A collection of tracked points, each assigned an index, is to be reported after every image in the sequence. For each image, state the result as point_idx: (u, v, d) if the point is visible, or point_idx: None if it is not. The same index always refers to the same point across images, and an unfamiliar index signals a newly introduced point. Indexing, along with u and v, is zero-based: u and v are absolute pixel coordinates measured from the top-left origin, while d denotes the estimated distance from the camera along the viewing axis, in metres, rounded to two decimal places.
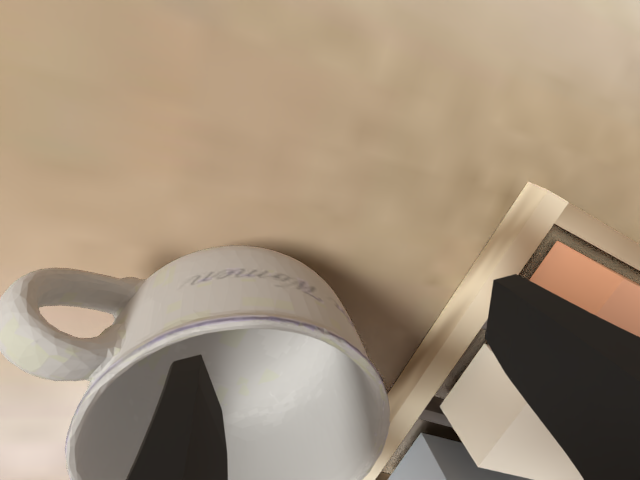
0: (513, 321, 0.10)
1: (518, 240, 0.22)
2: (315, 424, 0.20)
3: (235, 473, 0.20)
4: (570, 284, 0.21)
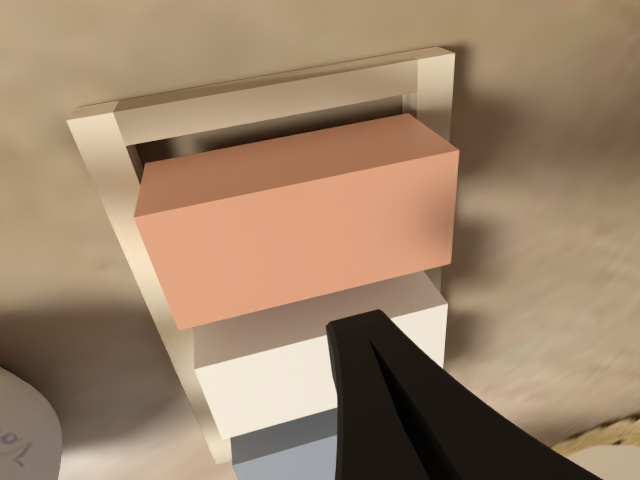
0: None
1: (104, 191, 0.16)
2: None
3: None
4: None
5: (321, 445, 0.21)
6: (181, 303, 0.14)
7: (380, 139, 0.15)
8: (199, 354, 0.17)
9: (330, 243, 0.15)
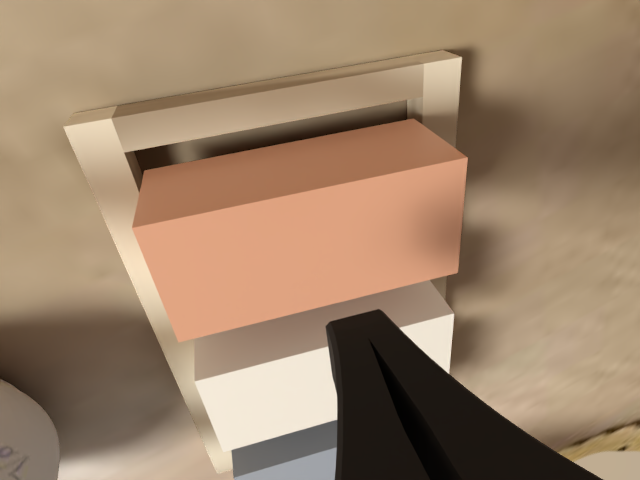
0: None
1: (102, 199, 0.16)
2: None
3: None
4: None
5: (324, 456, 0.20)
6: (181, 315, 0.14)
7: (386, 145, 0.15)
8: (200, 365, 0.16)
9: (335, 253, 0.14)
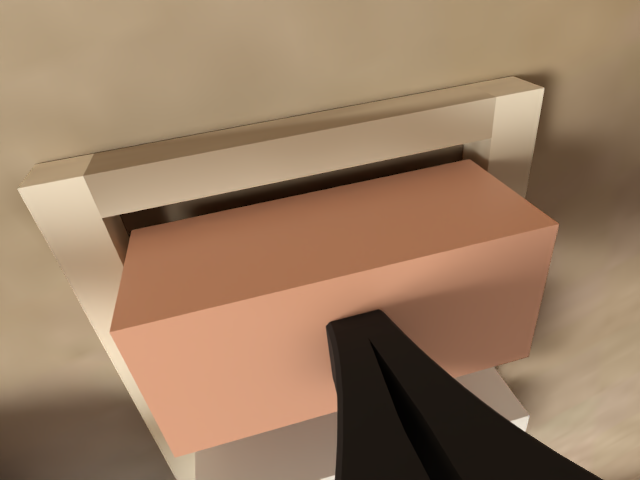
0: None
1: (74, 275, 0.12)
2: None
3: None
4: None
5: None
6: (178, 428, 0.11)
7: (443, 200, 0.12)
8: None
9: None
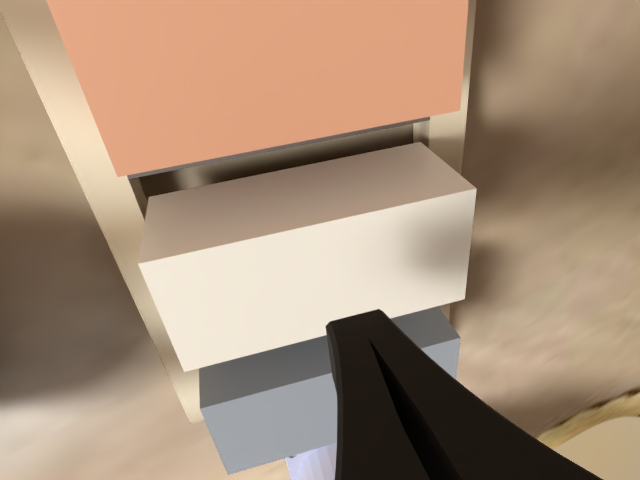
0: None
1: (16, 24, 0.12)
2: None
3: None
4: None
5: (312, 386, 0.16)
6: (118, 136, 0.11)
7: None
8: (147, 248, 0.13)
9: (309, 61, 0.12)
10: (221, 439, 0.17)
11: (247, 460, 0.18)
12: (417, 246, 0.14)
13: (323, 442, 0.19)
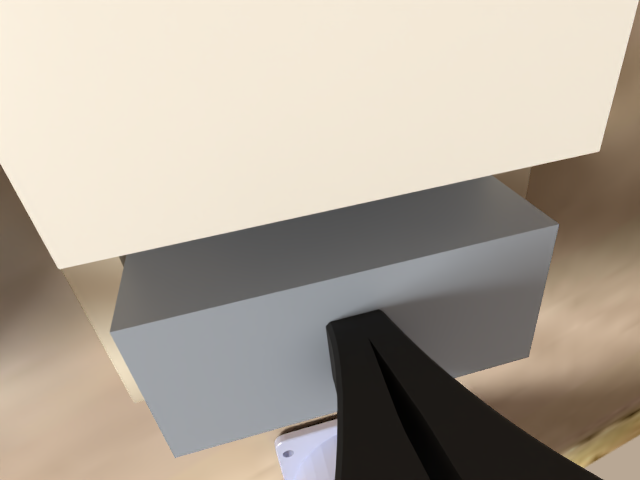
0: None
1: None
2: None
3: None
4: None
5: (311, 300, 0.10)
6: None
7: None
8: None
9: None
10: (156, 393, 0.10)
11: (205, 433, 0.11)
12: (536, 0, 0.07)
13: (329, 406, 0.12)
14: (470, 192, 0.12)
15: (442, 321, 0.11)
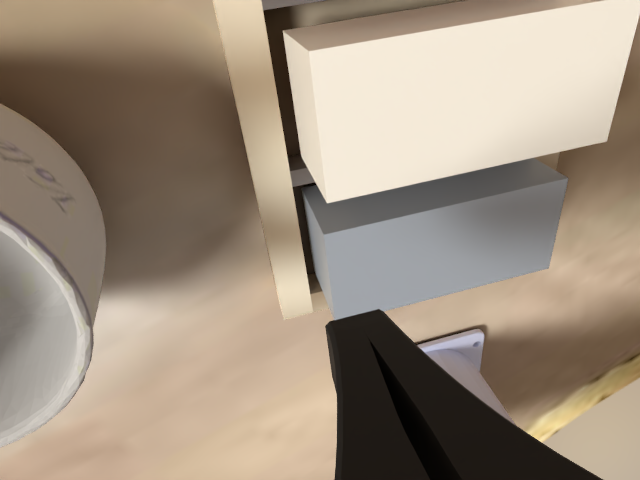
0: None
1: None
2: None
3: (44, 356, 0.16)
4: None
5: (427, 221, 0.17)
6: None
7: None
8: (310, 45, 0.12)
9: None
10: (336, 276, 0.17)
11: (355, 307, 0.18)
12: (575, 64, 0.13)
13: (426, 295, 0.19)
14: (512, 163, 0.19)
15: (498, 239, 0.18)
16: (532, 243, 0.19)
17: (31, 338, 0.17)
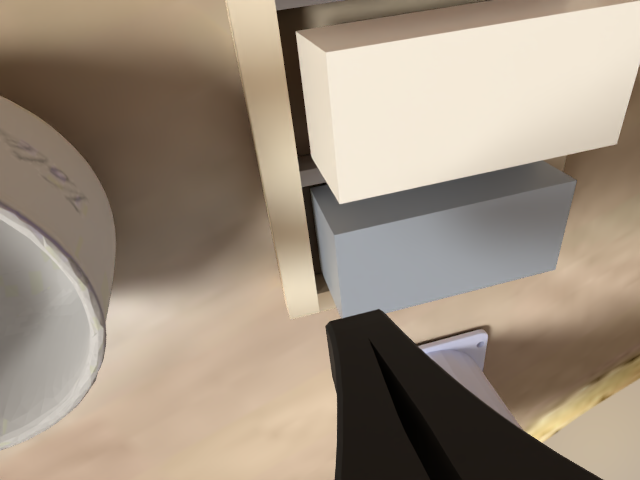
0: None
1: None
2: None
3: (53, 355, 0.16)
4: None
5: (437, 222, 0.17)
6: None
7: None
8: (327, 46, 0.12)
9: None
10: (345, 277, 0.17)
11: (363, 308, 0.18)
12: (588, 67, 0.13)
13: (434, 295, 0.19)
14: None
15: (506, 240, 0.18)
16: (539, 244, 0.19)
17: (39, 338, 0.17)
